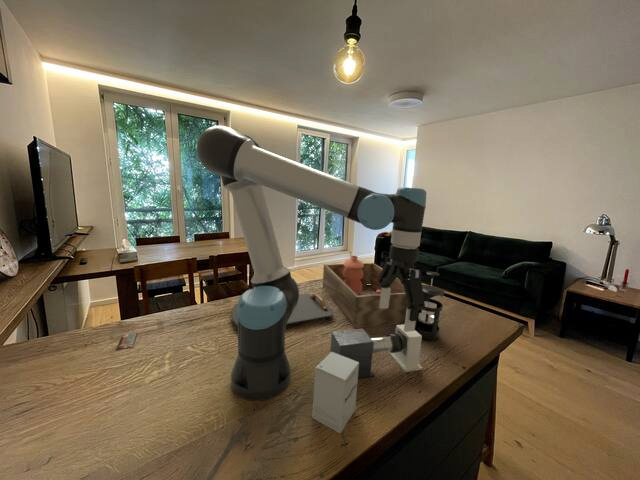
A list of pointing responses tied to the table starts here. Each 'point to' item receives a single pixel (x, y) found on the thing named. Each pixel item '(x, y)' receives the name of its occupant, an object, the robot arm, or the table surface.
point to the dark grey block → (354, 349)
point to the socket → (408, 350)
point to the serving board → (302, 310)
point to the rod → (390, 343)
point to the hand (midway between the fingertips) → (395, 318)
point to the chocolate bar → (127, 341)
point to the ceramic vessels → (354, 274)
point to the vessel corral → (365, 297)
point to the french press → (428, 319)
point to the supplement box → (335, 391)
